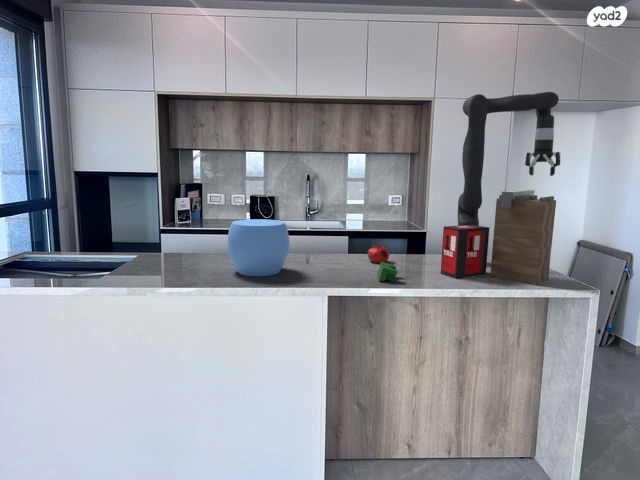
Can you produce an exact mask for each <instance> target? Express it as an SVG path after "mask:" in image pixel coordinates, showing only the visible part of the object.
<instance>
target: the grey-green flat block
mask: <svg viewBox="0 0 640 480" xmlns="http://www.w3.org/2000/svg"><path fill="white" fill-rule="evenodd" d="M501 195H502V196H501V207H507V208H512V200H514V199H515V196H521V195H531V196H533V195H535V189H520V190H510V191H501Z"/></svg>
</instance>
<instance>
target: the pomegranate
mask: <svg viewBox="0 0 640 480" xmlns="http://www.w3.org/2000/svg"><path fill="white" fill-rule="evenodd" d="M377 244H378V245H371V247H370V248H369V249H368V251H367V258H368V260H369V261H370V262H371V263H374V264H381V262H384V263H388V260H389V258H390V251H388V249H387V248H388V246H386V245H384V246H381V242H379V241H378V242H377Z"/></svg>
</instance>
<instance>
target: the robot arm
mask: <svg viewBox="0 0 640 480" xmlns="http://www.w3.org/2000/svg"><path fill="white" fill-rule="evenodd" d="M558 103H559V95H558V94H557V93H556V92H554V91H545V92H539V93H532V94H531V93H529V94H527V93H526V94H524V93H523V94H516V95H515V94H514V95H509V96H507V95H506V96H502V97H501V96H500V97H496V98H487V97H486V96H485V95H483V94H481V93H479V94H473V95H472V96H470V97H468V98H466V100H465V101H464V103H463V104H462V111H463V113H464V114H465V116H467V117H468V124H467V125H468V126H467V131H466V134H465V137H464V141H463V146H462V153H461V154H462V157H461V159H462V160H461V162H462V164H461V165H462V171H463V178H464V183H463V184H464V185H463V192H462V193H461V194H460V195H459V198H458V201H457V226H461V225H478V226H480V220H479V209H481V207H482V204H483V196H482V195H483V193H482V192H483V189H482V179H483V172H484V171H483V170H484V159H485V140H486V139H485V137H486V122H487V116H488V114H496V113H508V112H512V113H513V112H525V111H532V110H535V115H536V126H535V128H536V129H535V133H534V147H533V148H534V149H533V152H526V156H525V162H524V165H525V166H527V167H528V168H529V169H528V174H529V175H530V177H531V176H534V174H535V173H534V170H535V165H536V164H537V163H548V164H549V165H550V166H551V167H550V168H549V169H550V171H549V172H550V173H549V176H551V177H552V176H554V175H555V173H556V167H559V166H561V152H560V151H556V152H554V150H553V149H554V140H555V139H554V138H555V132H554V131H555V130H554V128H555V116H554V115H552V110H551V109H553V108H555V107H556V106H557V105H558ZM532 157H533V158H534V159H532V161H531V158H532ZM552 157H554V158H555V162H554V160H553V159H552Z"/></svg>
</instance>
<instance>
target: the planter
mask: <svg viewBox="0 0 640 480" xmlns="http://www.w3.org/2000/svg"><path fill="white" fill-rule="evenodd" d="M226 241H227V251H228V255H229V259H230V261H231V263H232V265H233V267H234V269H235V270H236V272H237V273H238V274H239V275H242V276H248V277H268V276H269V277H270V276H274V275H277V274H279V273H280V271H281V270H282V268H283V267H284V265H285V262H286V261H287V258H288V254H289V249H290V235H289V231H288V227H287V225H286V223H285V222H284V221H282V220H278V219H277V220H275V219H258V218H257V219H254V218H253V219H251V218H250V219H240V220H234V221H232V222H231V223H230V227H229V229H228V234H227V240H226Z"/></svg>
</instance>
